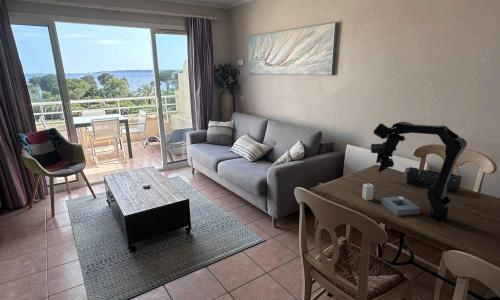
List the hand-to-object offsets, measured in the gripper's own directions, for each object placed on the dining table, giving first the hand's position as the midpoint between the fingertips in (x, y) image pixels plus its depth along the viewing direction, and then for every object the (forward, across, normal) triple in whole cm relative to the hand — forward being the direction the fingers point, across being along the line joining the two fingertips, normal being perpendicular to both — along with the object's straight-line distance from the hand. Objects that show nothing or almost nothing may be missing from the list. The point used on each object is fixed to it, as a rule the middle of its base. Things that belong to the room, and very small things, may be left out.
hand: (377, 167), depth 155 cm
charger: (+17, +8, 0) cm, 18 cm away
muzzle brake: (+11, -16, +38) cm, 43 cm away
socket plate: (+10, +17, +14) cm, 24 cm away
